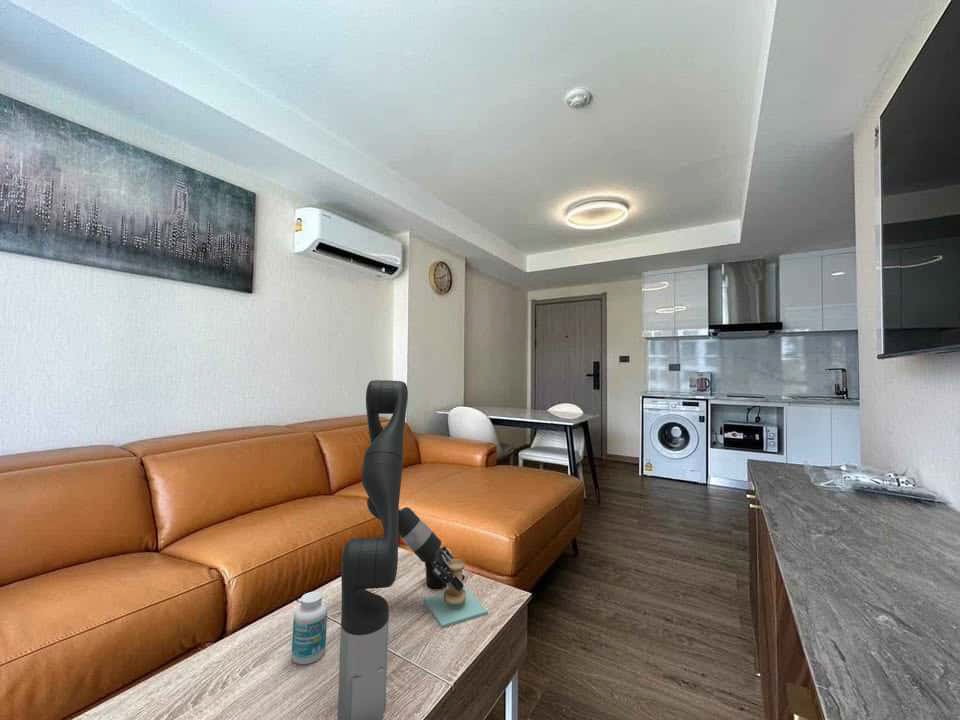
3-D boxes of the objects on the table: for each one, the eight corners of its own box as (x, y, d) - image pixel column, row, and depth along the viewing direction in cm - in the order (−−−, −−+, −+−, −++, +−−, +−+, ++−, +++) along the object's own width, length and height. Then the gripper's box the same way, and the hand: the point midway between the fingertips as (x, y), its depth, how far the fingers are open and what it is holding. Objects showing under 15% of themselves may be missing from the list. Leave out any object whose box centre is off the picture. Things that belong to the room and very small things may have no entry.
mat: (487, 614, 110) (487, 611, 110) (441, 628, 103) (442, 625, 103) (465, 589, 122) (465, 587, 122) (423, 600, 116) (423, 598, 116)
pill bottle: (288, 669, 88) (291, 607, 89) (294, 647, 95) (297, 590, 96) (323, 663, 90) (326, 603, 91) (327, 642, 97) (329, 586, 98)
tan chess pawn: (469, 600, 112) (470, 565, 112) (449, 607, 109) (450, 570, 109) (459, 589, 117) (460, 556, 118) (439, 595, 114) (440, 561, 115)
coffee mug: (445, 593, 120) (446, 560, 120) (419, 589, 122) (420, 557, 122) (455, 574, 131) (456, 544, 132) (431, 571, 133) (432, 541, 134)
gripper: (427, 541, 107) (470, 588, 106) (434, 522, 121) (472, 563, 120) (407, 560, 107) (450, 608, 106) (417, 538, 121) (455, 580, 120)
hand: (461, 584), depth 113 cm, fingers closed on tan chess pawn, 4 cm apart
